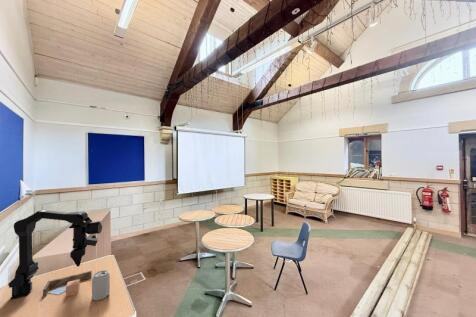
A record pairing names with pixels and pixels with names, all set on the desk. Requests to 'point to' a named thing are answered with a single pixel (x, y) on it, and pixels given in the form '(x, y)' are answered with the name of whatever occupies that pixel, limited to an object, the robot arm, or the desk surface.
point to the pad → (59, 290)
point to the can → (100, 285)
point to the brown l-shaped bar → (65, 281)
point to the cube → (72, 287)
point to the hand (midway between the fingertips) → (79, 262)
